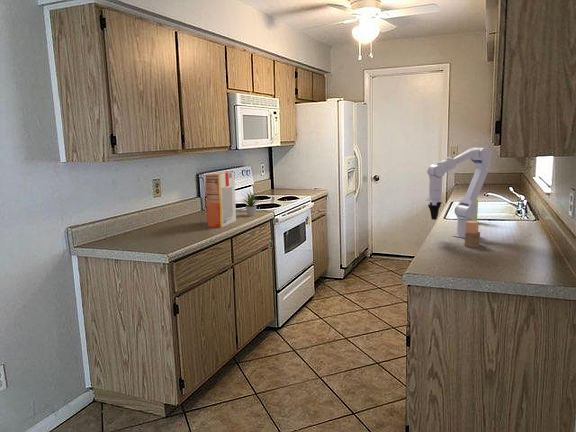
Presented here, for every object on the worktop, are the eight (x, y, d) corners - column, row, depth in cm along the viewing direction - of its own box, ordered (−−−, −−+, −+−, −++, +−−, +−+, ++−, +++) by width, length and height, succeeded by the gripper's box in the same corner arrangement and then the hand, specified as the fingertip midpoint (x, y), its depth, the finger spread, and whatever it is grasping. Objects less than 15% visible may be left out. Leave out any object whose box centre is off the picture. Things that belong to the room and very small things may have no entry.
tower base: (465, 243, 224) (465, 237, 223) (478, 244, 221) (479, 238, 221) (464, 246, 218) (464, 240, 218) (478, 247, 216) (479, 241, 215)
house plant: (268, 214, 313) (268, 189, 310) (254, 218, 302) (253, 192, 299) (252, 213, 321) (251, 188, 319) (238, 216, 311) (237, 190, 308)
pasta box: (223, 220, 297) (221, 171, 292) (236, 220, 294) (234, 171, 289) (207, 227, 275) (205, 174, 270) (220, 227, 273) (218, 174, 268)
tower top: (465, 237, 223) (466, 231, 223) (479, 238, 221) (480, 232, 220) (465, 240, 218) (465, 233, 217) (479, 241, 215) (479, 234, 215)
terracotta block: (468, 231, 222) (468, 220, 221) (478, 232, 220) (478, 221, 219) (465, 233, 219) (465, 222, 218) (475, 234, 216) (476, 223, 215)
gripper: (427, 188, 237) (427, 215, 239) (425, 191, 223) (424, 220, 226) (443, 188, 234) (441, 215, 237) (441, 191, 221) (440, 221, 223)
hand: (434, 218), depth 231 cm, fingers open, 7 cm apart
